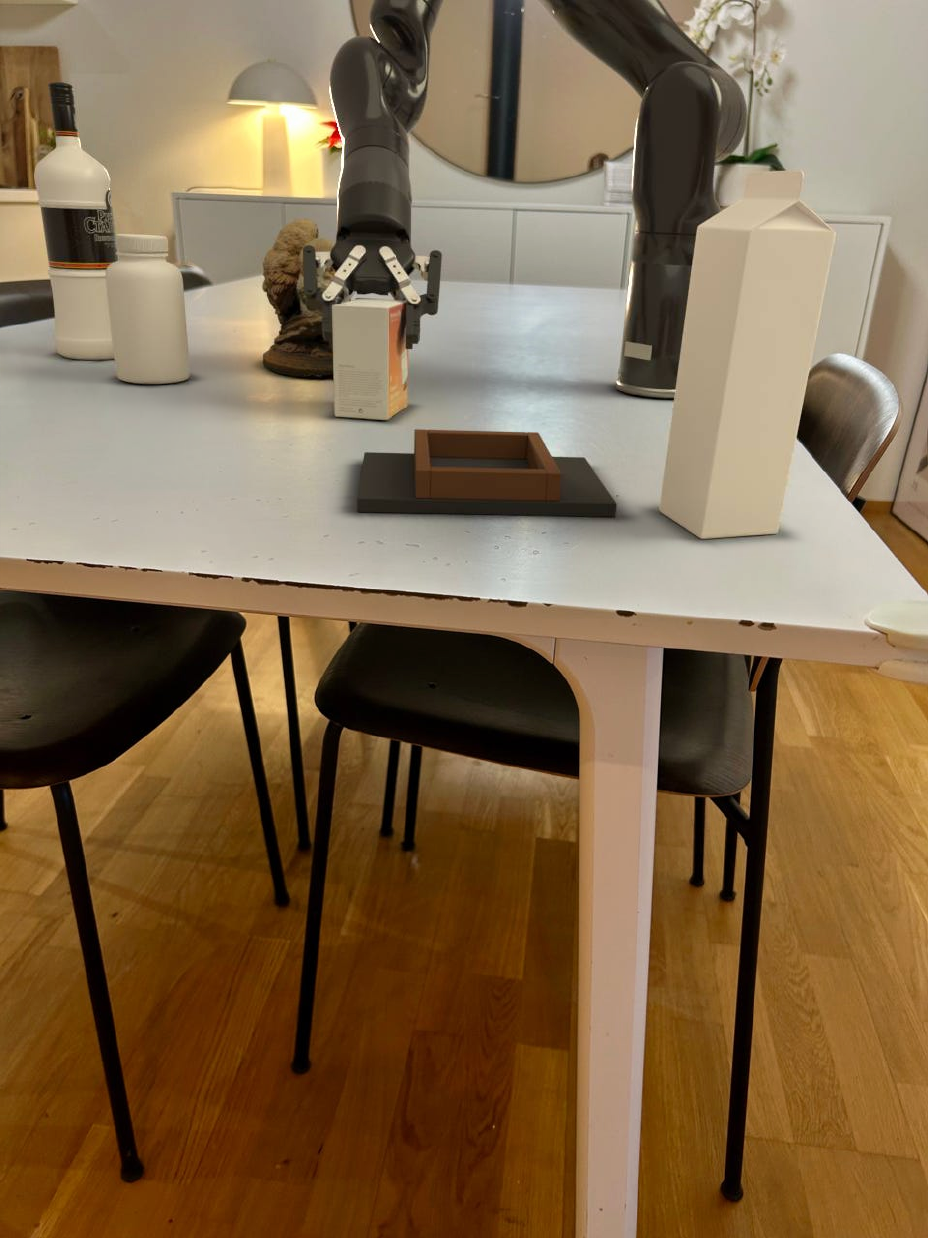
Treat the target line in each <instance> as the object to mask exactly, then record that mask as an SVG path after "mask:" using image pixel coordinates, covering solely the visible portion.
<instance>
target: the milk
mask: <svg viewBox="0 0 928 1238" xmlns="http://www.w3.org/2000/svg"><path fill="white" fill-rule="evenodd" d="M804 173H805V172H804V171H803V170H766V171H748V172H747V173H746V175H745V178H744V184H743V189H742V195H741V198H740V199H739V200H737V201H736V202H734V203H732V204H731V205H729V206H728V207H725V208H724V209H723V210H721V212H719V213H718V214H716V215H715V216H713V217H711V218H710V219H708V220H707V221H705V222H703V223H702V224H700V225H699V226H698V228H697V234H696V242H695V249H694V256H693V264H692V271H691V279H690V286H689V293H688V301H687V308H686V316H685V323H684V330H683V338H682V345H681V353H680V360H679V367H678V375H677V382H676V390H675V397H674V398H673V406H672V413H671V419H670V421H671V422H670V427H669V436H668V443H667V450H666V457H665V465H664V470H663V471H664V472H663V479H662V487H661V493H660V494H661V495H660V501H659V509H658V511H659V512H660V513H661V514H663V515H664V516H666V517H667V518H669V519H670V520H672V521H674V522H675V523H676V524H677V525H678V526H681V527H682V528H684V529H685V530H687V531H688V532H690V533H691V534H693V535H694V536H696V537H697V538H699V539H701V540H704V539H721V538H733V537H747V536H749V537H750V536H759V535H760V536H761V535H776V534H778V532H779V528H780V525H781V524H780V523H781V518H782V512H783V509H784V503H785V498H786V492H787V487H788V482H789V477H790V472H791V467H792V462H793V458H794V451H795V446H796V441H797V436H798V431H799V426H800V422H801V421H800V420H801V415H802V410H803V405H804V400H805V395H806V391H807V385H808V380H809V374H810V369H811V364H812V360H813V355H814V350H815V344H816V340H817V339H816V338H817V334H818V329H819V328H818V327H819V323H820V319H821V314H822V308H823V303H824V298H825V294H826V293H825V292H826V288H827V282H828V279H829V278H828V277H829V273H830V267H831V262H832V256H833V251H834V246H835V242H836V236H837V233H836V231H835V230H833V228H831V226H829V224H827V223H826V222H825V221H824V220H823V219H822V218H820V217H819V216H818V214H817V213H815V212H814V211H813V210H812V209H811V208H810V207H809V206H808V205H807V204H806V203H805V202H804V201H802V199H801V197H802V192H803V185H804V179H805V174H804Z"/></svg>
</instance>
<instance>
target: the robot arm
mask: <svg viewBox="0 0 928 1238" xmlns="http://www.w3.org/2000/svg"><path fill="white" fill-rule="evenodd" d="M538 1H539V2H540V3H541V4H542V6H543V7H544V8H545V10H546V11H547V12H548V14H550V15H551V17H552V18H553V20H555V22H556V23H557V24H558V25H559V27H561V29H562V30H563V31H564V32H565V33H566V34H567V35H568V36H569V37H571V39H573V40H574V41H575V42H576V43H577V44H579V46H581V48H583V49H584V50H586V51H587V52H589V54H591V55H592V56H593V57H594V58H595V59H597V60H599V61H600V62H601V63H602V64H604V65H605V66H607V67H608V68H609V69H610V70H612V71H613V72H615V73H616V74H617V75H618V76H620V77H621V79H623V80H624V81H626V82H627V84H629V86H630V87H631V88H632V89H633V90H634V91H635V92H636V94H637V95H638V96H639V97H640V98H641V101H640V103H639V107H638V112H637V117H636V124H635V132H634V146H633V148H634V149H633V157H632V174H631V175H632V176H631V190H630V191H631V193H630V195H631V202H632V208H633V211H634V232H633V239H632V250H631V259H630V267H629V276H628V287H627V294H626V304H625V311H624V312H625V314H624V322H623V331H622V339H621V347H620V357H619V367H618V373H617V374H618V376H617V379H616V389H617V390H619V391H620V392H623V393H625V394H629V395H634V396H639V397H640V396H641V397H647V398H655V399H656V398H657V399H658V398H659V399H674V397H675V390H676V382H677V375H678V367H679V360H680V353H681V345H682V338H683V330H684V323H685V316H686V308H687V301H688V293H689V286H690V279H691V271H692V264H693V256H694V249H695V242H696V234H697V228H698V226H699V225H700V224H702V223H703V222H705V221H707V220H708V219H710V218H711V217H713V216H715V215H716V214H718V213H719V212H721V211H722V208H721V207H720V204H719V203H718V200H717V198H716V194H715V188H714V180H715V179H714V178H715V167H716V164H717V163H719V162H722V161H724V160H725V159H727V158H728V157H729V156H731V155H732V154H733V153H735V151H736V150H737V149H738V148H739V146H740V144H741V142H742V140H743V138H744V135H745V132H746V129H747V123H748V107H747V101H746V97H745V94H744V92H743V89H742V88H741V86H740V84H739V83H738V82H737V81H736V79H735V78H734V77H733V76H732V75H731V74H729V73H728V72H727V71H726V70H725V69H723V68H722V66H720V65H719V64H718V63H717V62H716V61H715V60H714V59H713V58H711V57H710V56H709V54H708V53H706V52H705V51H704V50H703V49H702V48H701V47H700V46H699V45H697V43H696V42H694V40H692V39H691V38H690V36H689V35H687V33H685V31H684V30H683V29H682V28H681V27H680V26H679V25H678V23H677V22H676V21H675V19H673V17H672V16H671V14H670V13H669V12H668V10H667V8H666V7H665V6H664V5H663V2H661V0H538ZM443 3H444V0H372V2H371V5H370V9H369V13H368V14H369V15H368V20H369V26H370V29H371V31H372V33H373V35H374V37H375V38H373V37H371V36H369V35H357V36H353V37H351V38H349V39H347V40H346V41H345V42H344V43H343V44H342V45H341V46H340V47H339V48H338V50H337V53H336V54H335V56H334V58H333V61H332V64H331V67H330V72H329V94H330V99H331V104H332V108H333V112H334V116H335V120H336V123H337V127H338V131H339V135H340V137H341V141H342V151H341V152H342V153H341V171H340V176H339V181H338V189H337V193H336V201H337V207H336V208H337V209H336V210H337V211H336V232H335V234H336V235H335V242H334V243H335V245H334V247H333V248H332V249H331V251H330V252H315V248H314V247H313V246H311V245H307V246H305V247H304V248H303V278H304V294H305V299H306V308H307V309H308V310H309V311H315V310H319V311H321V312H322V335H323V338H324V341H329V346H330V347H333V326H332V305H335V304H342V303H346V302H348V301H349V300H350V299H351V300H352V297H353V296H354V295H355V293H356V295H362V296H363V295H365V296H366V295H371V294H374V295H379V296H389V294H390V295H391V297H392V298H393V300H400V301H407V302H408V305H406V349H408V350H413V349H414V347H413V345H418V344H419V342H420V340H421V318H422V316H424V315H429V316H436V315H437V314H438V311H439V301H440V299H439V298H440V287H441V274H442V259H443V253H442V252H441V251H440V250H438V249H437V250H436V249H435V250H431V251H430V253H429V255H421V254H420V255H419V254H416V252H415V251H414V249H413V248H412V204H413V196H412V186H411V179H410V141H409V136H408V135H409V134H410V133H411V132H412V131H413V130H414V129H415V128H416V127H417V124H418V123H419V121H420V119H421V117H422V115H423V113H424V110H425V106H426V102H427V98H428V91H429V90H428V89H429V77H430V76H429V75H430V63H431V62H430V60H431V41H432V35H433V32H434V29H435V27H436V23H437V20H438V17H439V15H440V11H441V8H442V6H443ZM329 265H331V266H332V267H333V269H334V270H335V271H336V273H335V274H334V277H333V280H332V282H331V283H330V285H329V286H328V287H327V289H326V290H325V291H324V292H322V291H319V290H318V277H321V276H322V274H323V273H324V272H325V268H326V267H327V266H329ZM415 270H418V271H419V273H420V276H421V278H423V280H424V281H425V282H427V284H426V285H427V286H426V293H423V294H419V293H418V291H416V289H415V287H414V286H413V284H412V282H411V279H410V275H411V274H412V273H413V272H414V271H415Z"/></svg>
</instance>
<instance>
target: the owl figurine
mask: <svg viewBox="0 0 928 1238" xmlns="http://www.w3.org/2000/svg"><path fill="white" fill-rule="evenodd" d="M319 233H320V232H319V228H318V224H317V223H316V222H315V221H313V220H311V219H309V218H300V219H294V220H292V221H291V222H289V223H286V225H284V226H283V227H282V228H281V229H280V230H279V231H278V234H277V236H276V239H275V241H274V243H273V245H272V248H270V249H268V250H267V252H266V253H265V256H264V258H263V262H262V267H263V271H262V276H263V277H264V280H263V282H262V285H261V286H262V287H261V288H262V291H263V292H264V293H266V298H267V300H268V302H269V305H271V306H272V307H273V310H274V315H276V316H277V320H278V323H279V325H280V329H279V331H278V335H277V336H276V337H274V339H273V340H274V341H273V344H272V345H270V347H269V349H268V350H267V351H265V352H264V353H263V354H262V366H264V368H265V369H268V370H269V371H272V372H273V373H276V374H281V375H286V376H291V377H299V378H300V377H301V378H308V377H310V376H314V378H317V377H318V378H321V377H322V376H328V375H329V376H330V375H331V376H332V375H334V374H333V347H330V346H329V341H324V338H323V335H322V312H321V311H319V310H315V311H309V310H308V309H307V308H306V299H305V294H304V278H303V248H304V247H305V246H307V245H311V246H313V247H314V248H315V252H330V251H331V249H332V248H333V247H334V245H335V243H336V242H333V241H332V240H329V239H327V238H325V237H320V236H319ZM335 273H336V271H335V270H334V269H333V267H332V266H331V265H329V266H327V267H326V268H325V272H324V273H323V274H322V276H321V277H318V290H319V291H322V292H324V291H325V290H326V289H327V287H328V286H329V285H330V283H331V282H332V280H333V277H334V274H335ZM349 301H352V298H351V299H350V300H349ZM349 301H348V302H349Z"/></svg>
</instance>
